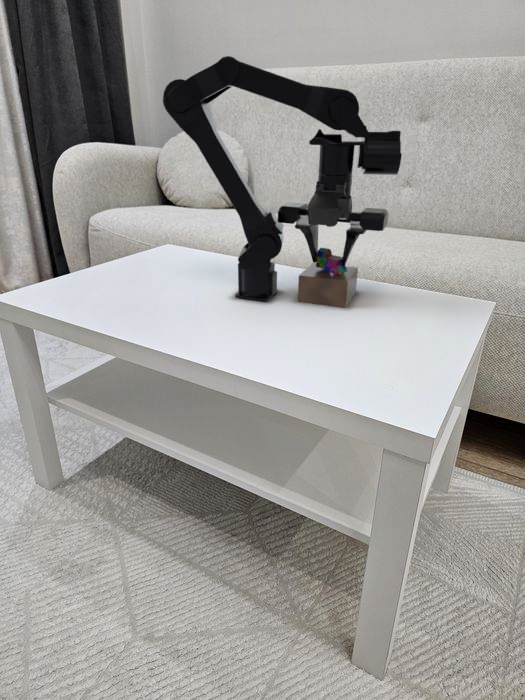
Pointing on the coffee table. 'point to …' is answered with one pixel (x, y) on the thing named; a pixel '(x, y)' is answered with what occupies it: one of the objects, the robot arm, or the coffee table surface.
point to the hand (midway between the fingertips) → (329, 263)
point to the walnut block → (327, 286)
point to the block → (329, 262)
